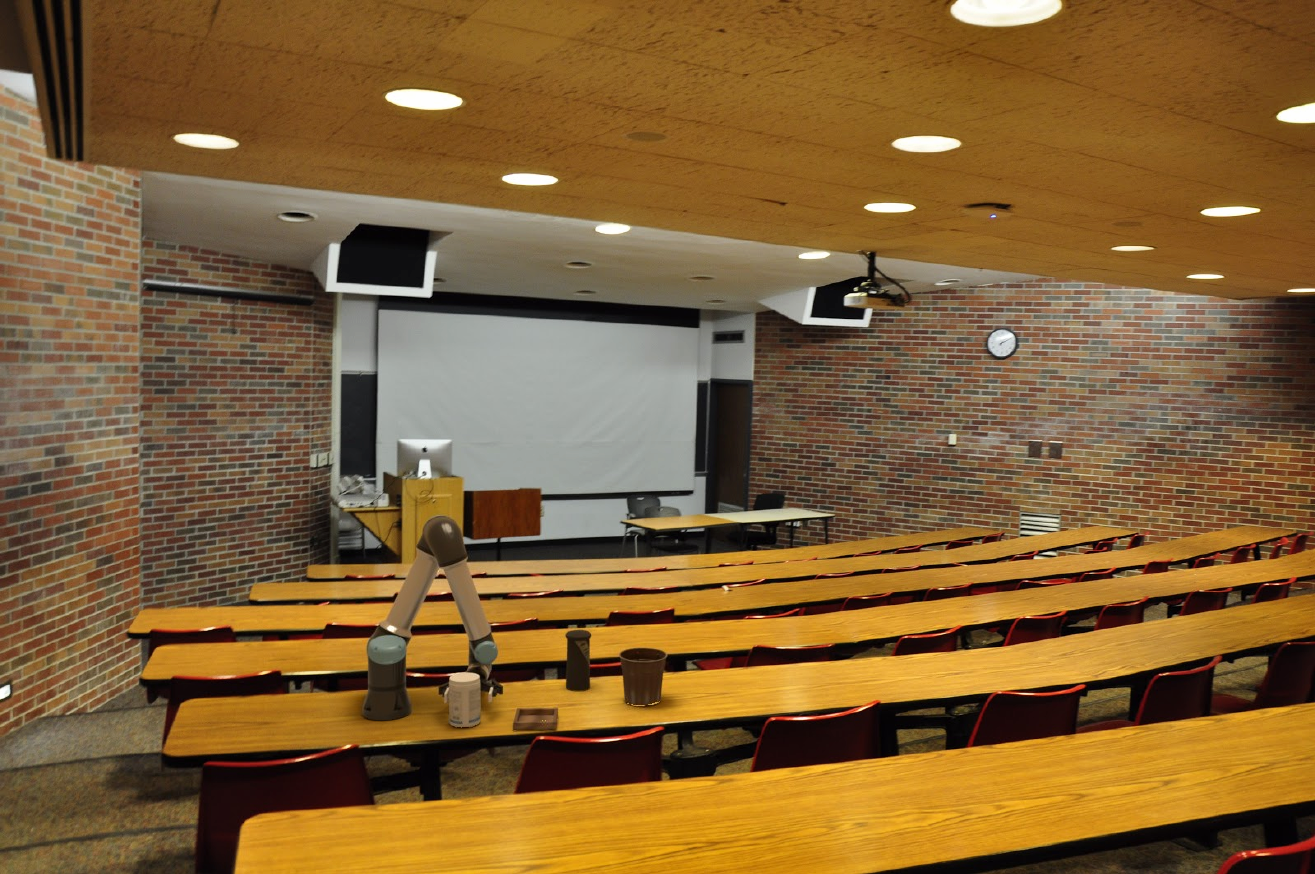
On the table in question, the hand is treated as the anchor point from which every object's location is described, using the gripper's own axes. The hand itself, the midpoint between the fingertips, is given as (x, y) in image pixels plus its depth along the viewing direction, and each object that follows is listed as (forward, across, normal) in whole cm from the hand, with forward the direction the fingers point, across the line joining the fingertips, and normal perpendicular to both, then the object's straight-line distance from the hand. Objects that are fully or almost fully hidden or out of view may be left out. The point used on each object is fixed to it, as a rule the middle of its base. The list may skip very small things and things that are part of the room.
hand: (467, 698), depth 287 cm
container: (-35, -34, -8) cm, 49 cm away
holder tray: (0, -21, -8) cm, 23 cm away
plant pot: (-19, -55, -8) cm, 59 cm away
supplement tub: (0, +1, -8) cm, 8 cm away
